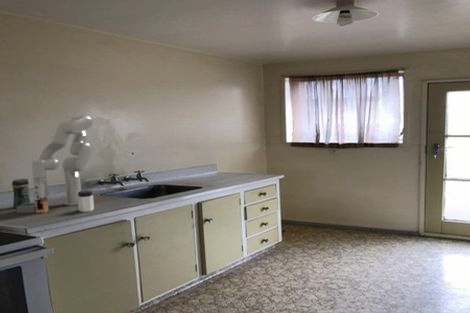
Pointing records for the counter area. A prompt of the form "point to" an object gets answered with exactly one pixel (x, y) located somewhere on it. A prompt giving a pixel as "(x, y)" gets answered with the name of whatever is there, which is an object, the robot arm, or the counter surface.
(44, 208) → the block
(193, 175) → the counter surface
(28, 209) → the holder
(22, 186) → the coffee jar
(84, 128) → the robot arm
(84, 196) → the jar
